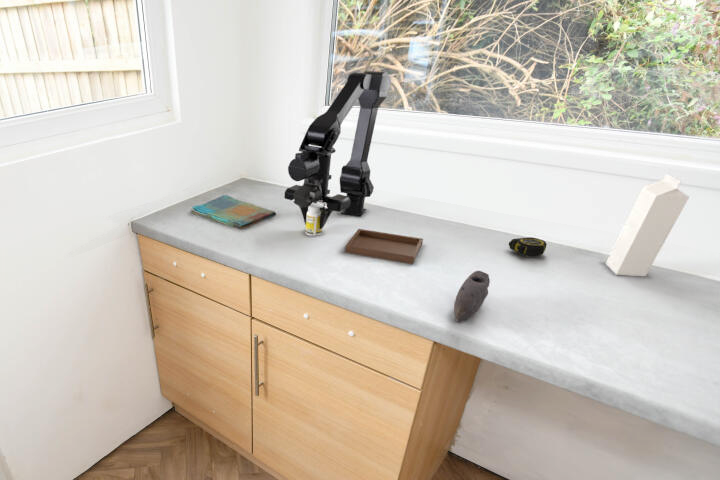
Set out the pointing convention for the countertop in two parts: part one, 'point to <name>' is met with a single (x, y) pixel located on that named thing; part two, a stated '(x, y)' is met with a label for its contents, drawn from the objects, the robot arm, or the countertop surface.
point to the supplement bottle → (313, 220)
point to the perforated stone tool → (471, 295)
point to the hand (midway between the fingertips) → (313, 226)
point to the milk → (647, 227)
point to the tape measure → (528, 246)
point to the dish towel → (232, 212)
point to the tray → (384, 246)
